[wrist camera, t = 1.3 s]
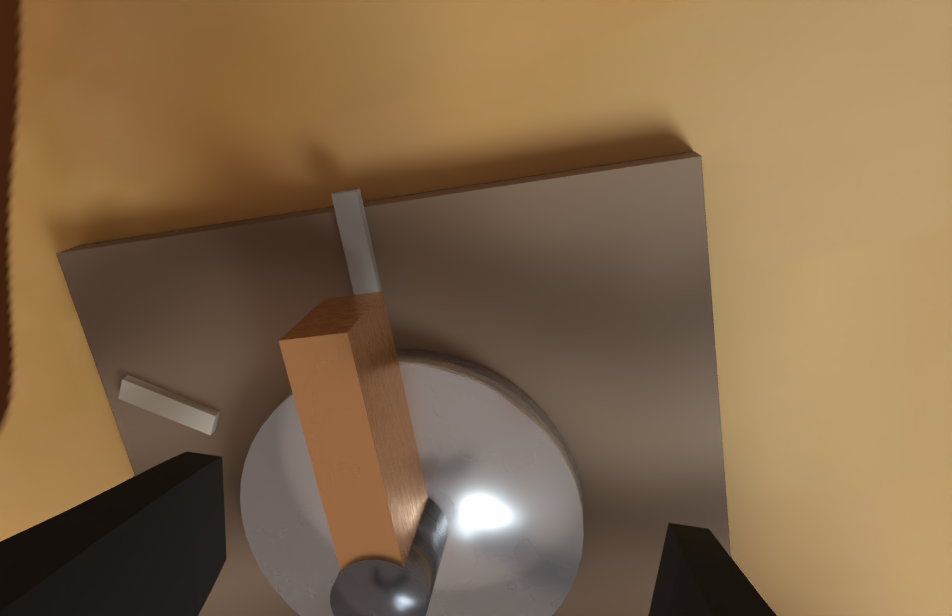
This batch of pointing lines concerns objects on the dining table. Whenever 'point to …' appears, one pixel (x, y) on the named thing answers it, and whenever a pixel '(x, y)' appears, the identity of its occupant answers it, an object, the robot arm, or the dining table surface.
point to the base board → (444, 341)
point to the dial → (407, 480)
